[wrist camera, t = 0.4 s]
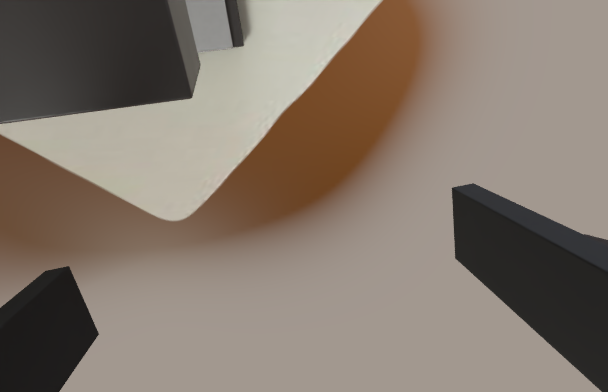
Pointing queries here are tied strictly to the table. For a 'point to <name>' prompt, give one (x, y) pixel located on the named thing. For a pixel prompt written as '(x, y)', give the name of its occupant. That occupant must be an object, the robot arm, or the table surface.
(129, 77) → the coffee maker
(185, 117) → the table surface
